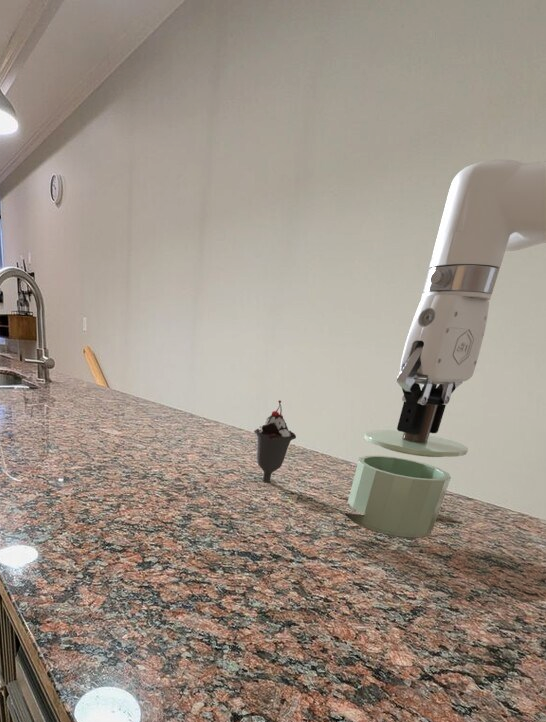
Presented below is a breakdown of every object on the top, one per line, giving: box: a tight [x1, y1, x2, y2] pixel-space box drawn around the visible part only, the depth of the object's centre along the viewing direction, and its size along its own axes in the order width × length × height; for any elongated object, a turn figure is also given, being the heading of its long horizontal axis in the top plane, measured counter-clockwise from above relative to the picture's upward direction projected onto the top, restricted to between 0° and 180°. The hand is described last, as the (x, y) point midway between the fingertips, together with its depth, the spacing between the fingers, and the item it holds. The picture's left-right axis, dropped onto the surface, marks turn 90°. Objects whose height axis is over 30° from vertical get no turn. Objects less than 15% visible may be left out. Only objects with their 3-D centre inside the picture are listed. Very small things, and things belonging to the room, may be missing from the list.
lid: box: [364, 401, 469, 458], centre depth 62 cm, size 13×13×6 cm
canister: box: [345, 455, 452, 539], centre depth 66 cm, size 12×12×8 cm
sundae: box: [253, 399, 297, 483], centre depth 73 cm, size 7×7×15 cm
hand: (417, 430), depth 63 cm, fingers closed on lid, 3 cm apart
